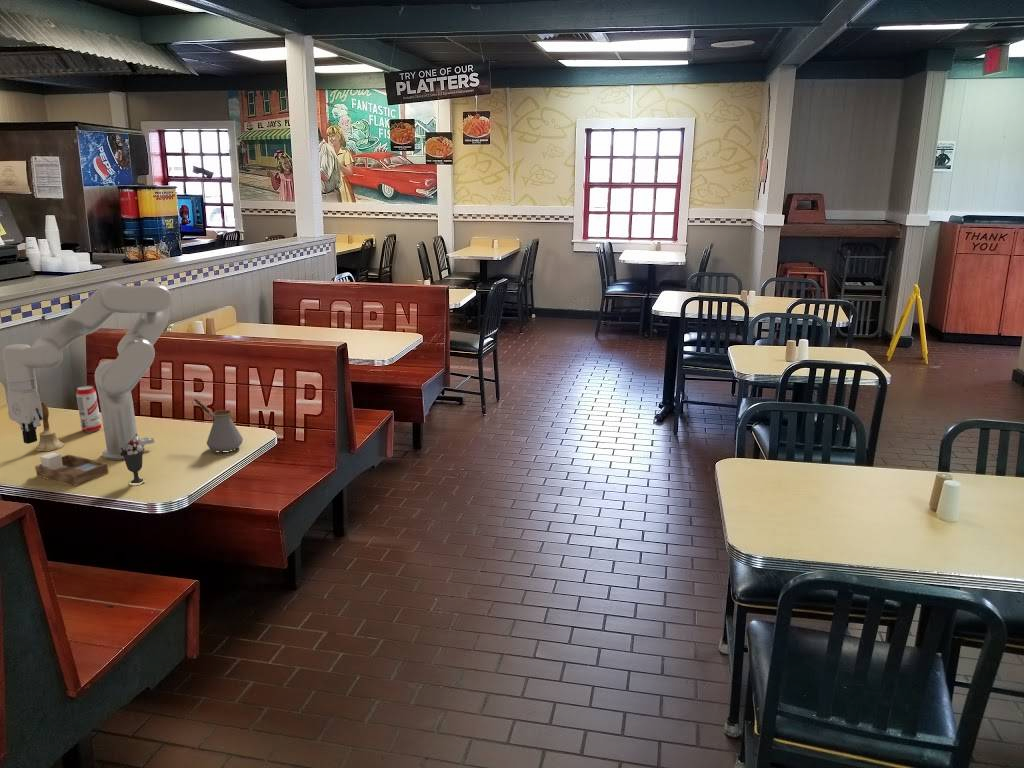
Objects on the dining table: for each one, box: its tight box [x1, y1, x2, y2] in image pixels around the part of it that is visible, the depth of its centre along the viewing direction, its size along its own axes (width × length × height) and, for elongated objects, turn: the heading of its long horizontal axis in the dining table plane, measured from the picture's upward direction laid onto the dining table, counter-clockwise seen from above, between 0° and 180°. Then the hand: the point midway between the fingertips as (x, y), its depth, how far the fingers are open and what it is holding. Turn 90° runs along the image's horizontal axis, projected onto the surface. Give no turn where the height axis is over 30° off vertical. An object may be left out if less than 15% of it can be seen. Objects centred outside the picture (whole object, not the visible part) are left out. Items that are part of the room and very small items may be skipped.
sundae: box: [120, 433, 146, 483], centre depth 230 cm, size 7×7×15 cm
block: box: [40, 451, 63, 470], centre depth 237 cm, size 4×4×4 cm
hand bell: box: [35, 401, 65, 452], centre depth 257 cm, size 8×8×16 cm
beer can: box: [75, 385, 102, 433], centre depth 274 cm, size 6×6×16 cm
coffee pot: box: [191, 398, 244, 452], centre depth 259 cm, size 21×12×15 cm, turn 54°
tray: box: [35, 454, 109, 487], centre depth 237 cm, size 18×11×3 cm, turn 64°
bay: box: [75, 463, 98, 471], centre depth 238 cm, size 5×5×2 cm
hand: (30, 442), depth 237 cm, fingers closed
